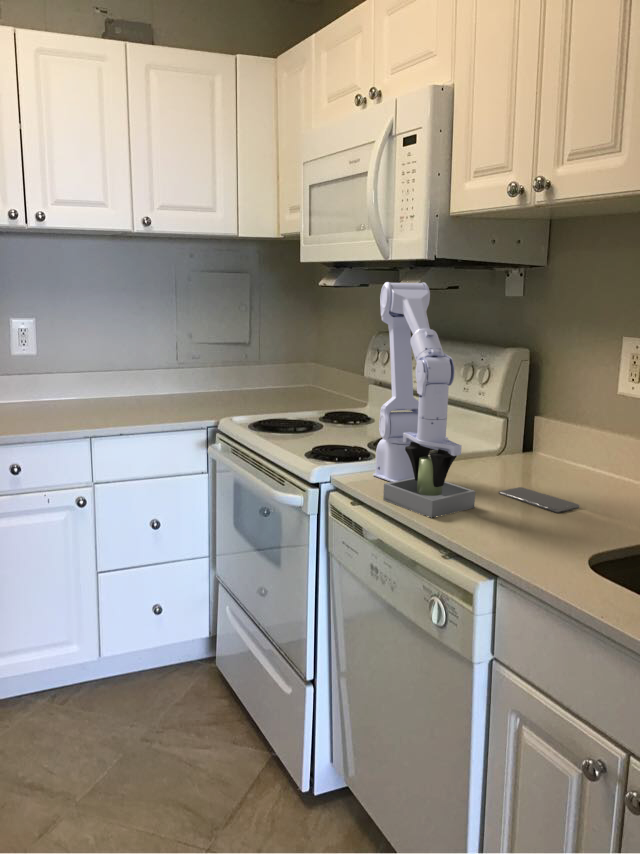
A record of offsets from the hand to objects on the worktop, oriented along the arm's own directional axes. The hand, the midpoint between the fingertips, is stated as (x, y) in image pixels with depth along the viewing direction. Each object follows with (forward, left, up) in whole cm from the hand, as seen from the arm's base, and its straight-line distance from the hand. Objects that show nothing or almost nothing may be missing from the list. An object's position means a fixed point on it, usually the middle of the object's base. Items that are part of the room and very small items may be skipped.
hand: (429, 483), depth 149 cm
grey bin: (0, 0, -4) cm, 4 cm away
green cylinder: (0, 0, -2) cm, 2 cm away
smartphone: (+11, +21, -5) cm, 24 cm away
